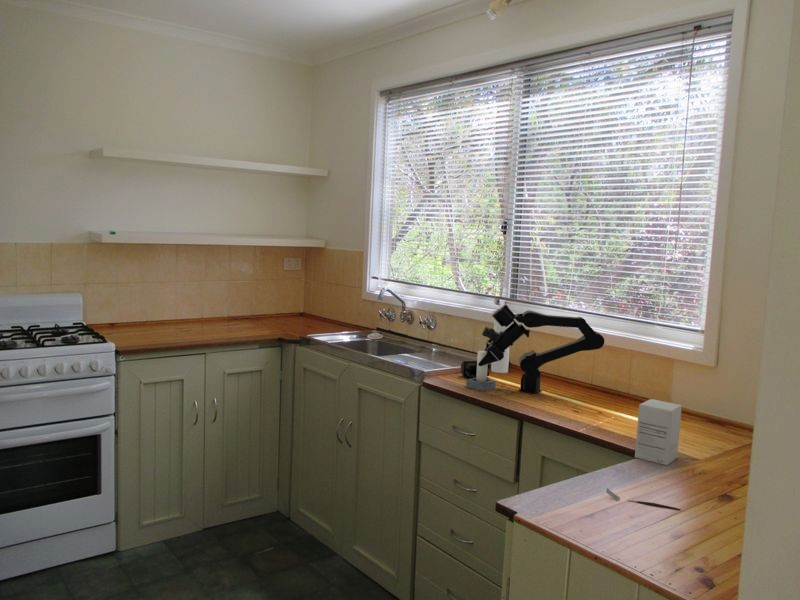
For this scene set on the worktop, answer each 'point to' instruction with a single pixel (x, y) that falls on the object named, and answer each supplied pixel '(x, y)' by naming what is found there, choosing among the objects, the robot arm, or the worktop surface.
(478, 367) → the white tapered peg
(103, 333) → the worktop surface
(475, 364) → the end cap
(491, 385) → the square frame
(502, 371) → the cylindrical container
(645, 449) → the supplement box
